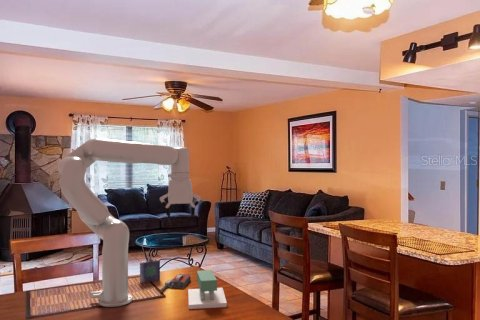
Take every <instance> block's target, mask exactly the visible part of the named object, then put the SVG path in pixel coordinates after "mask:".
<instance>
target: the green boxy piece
mask: <svg viewBox="0 0 480 320" xmlns="http://www.w3.org/2000/svg"><path fill="white" fill-rule="evenodd" d="M196 282H197V284H198V287H199V288H198V289H200V290H201V292H205V291H217V288H218V279H217V278H216V276H215V274H214V272H213V270H212V269H208V270H206V269H203V270H196Z"/></svg>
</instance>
